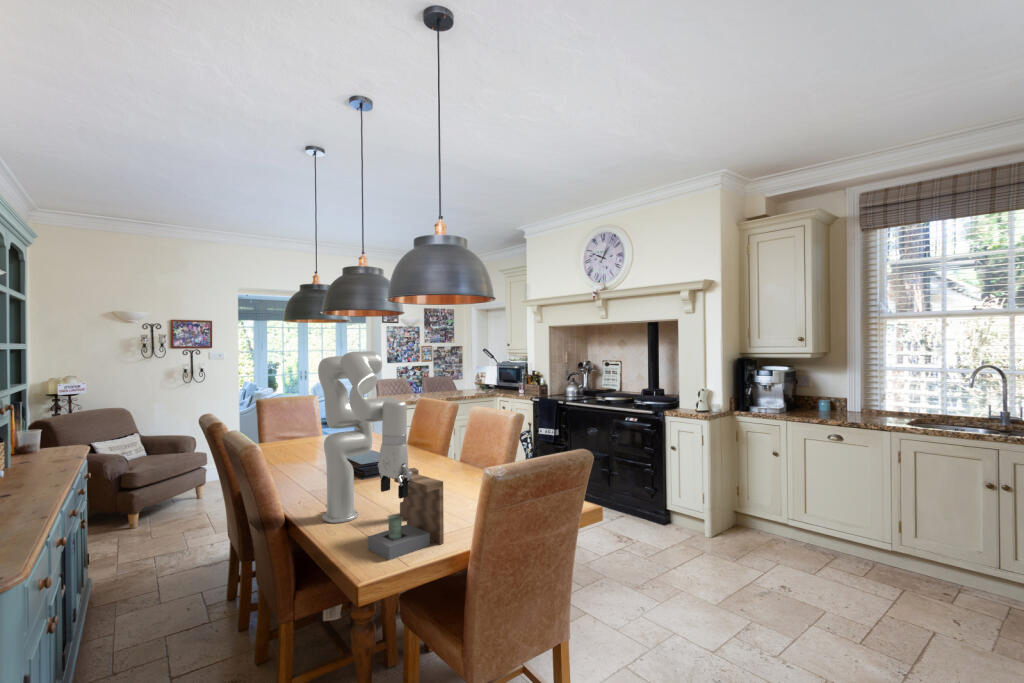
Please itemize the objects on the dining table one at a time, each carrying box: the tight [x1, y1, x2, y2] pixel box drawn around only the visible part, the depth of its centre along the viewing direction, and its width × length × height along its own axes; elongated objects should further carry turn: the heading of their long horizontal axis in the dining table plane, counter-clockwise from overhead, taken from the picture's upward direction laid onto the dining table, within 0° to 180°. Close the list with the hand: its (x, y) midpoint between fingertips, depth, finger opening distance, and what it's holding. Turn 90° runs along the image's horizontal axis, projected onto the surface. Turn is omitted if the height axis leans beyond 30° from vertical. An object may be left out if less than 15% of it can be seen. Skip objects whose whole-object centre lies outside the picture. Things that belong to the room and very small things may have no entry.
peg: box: [387, 514, 403, 541], centre depth 160 cm, size 4×4×10 cm
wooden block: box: [399, 467, 420, 520], centre depth 190 cm, size 9×4×18 cm, turn 31°
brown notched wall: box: [393, 473, 445, 545], centre depth 168 cm, size 18×6×20 cm, turn 47°
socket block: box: [367, 523, 431, 561], centre depth 161 cm, size 12×15×4 cm
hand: (394, 494), depth 160 cm, fingers open, 9 cm apart
